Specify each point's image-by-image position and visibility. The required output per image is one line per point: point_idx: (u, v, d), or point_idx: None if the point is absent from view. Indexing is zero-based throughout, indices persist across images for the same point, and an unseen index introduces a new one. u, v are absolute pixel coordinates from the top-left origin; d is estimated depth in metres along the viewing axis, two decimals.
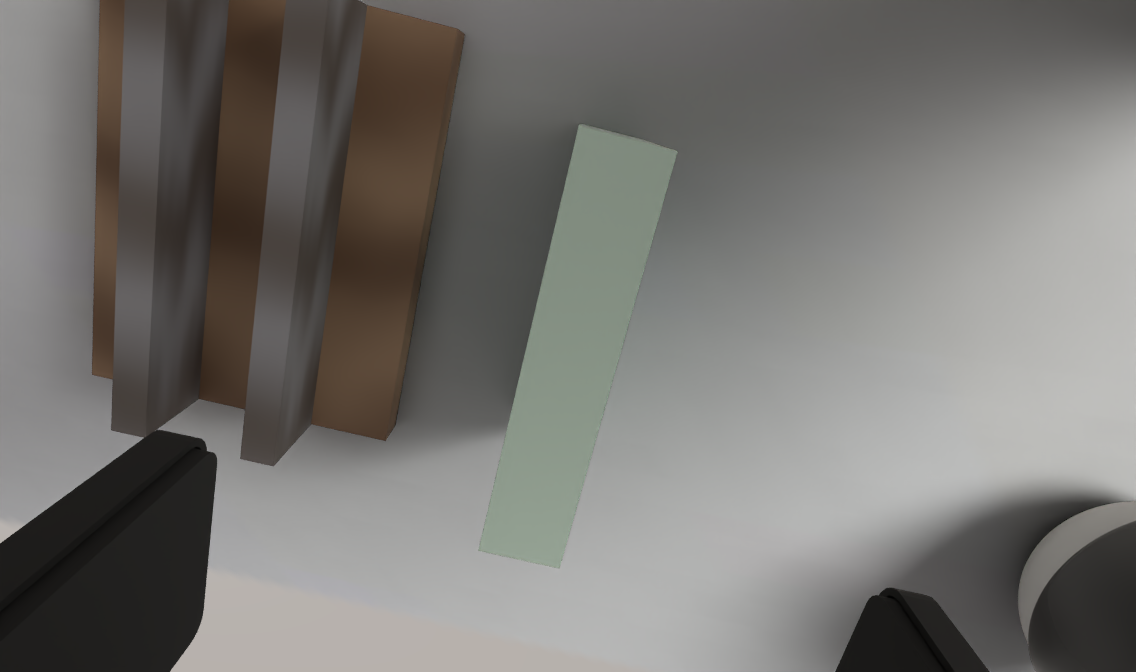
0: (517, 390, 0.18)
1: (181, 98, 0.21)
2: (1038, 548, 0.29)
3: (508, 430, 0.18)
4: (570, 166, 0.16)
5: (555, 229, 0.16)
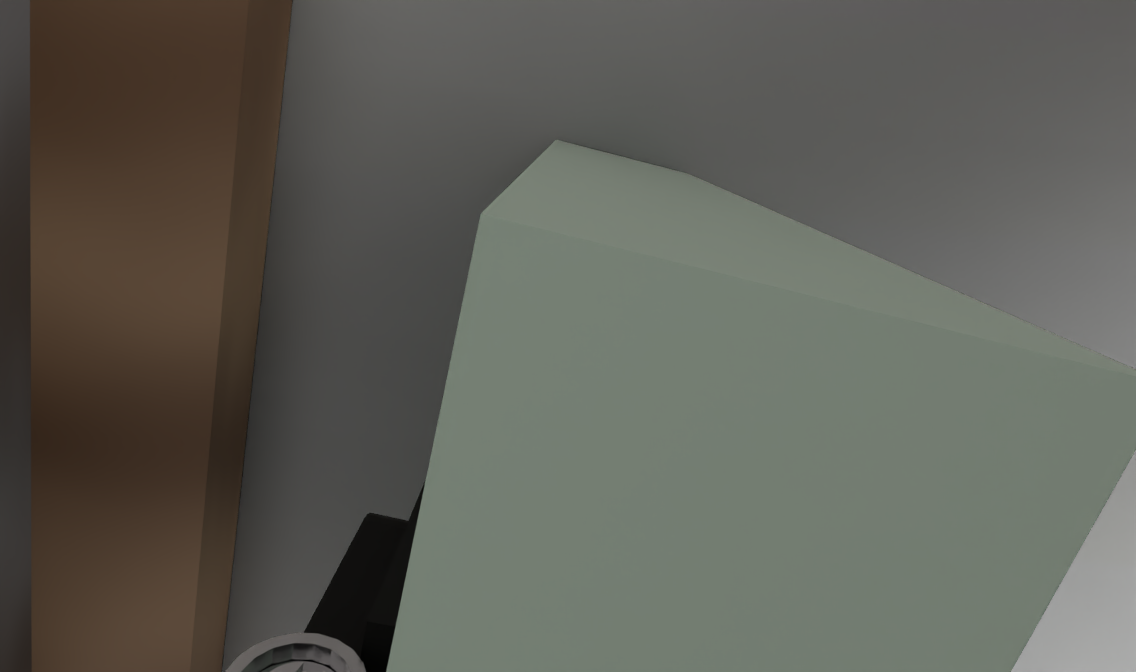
0: None
1: None
2: None
3: None
4: (438, 467, 0.02)
5: None
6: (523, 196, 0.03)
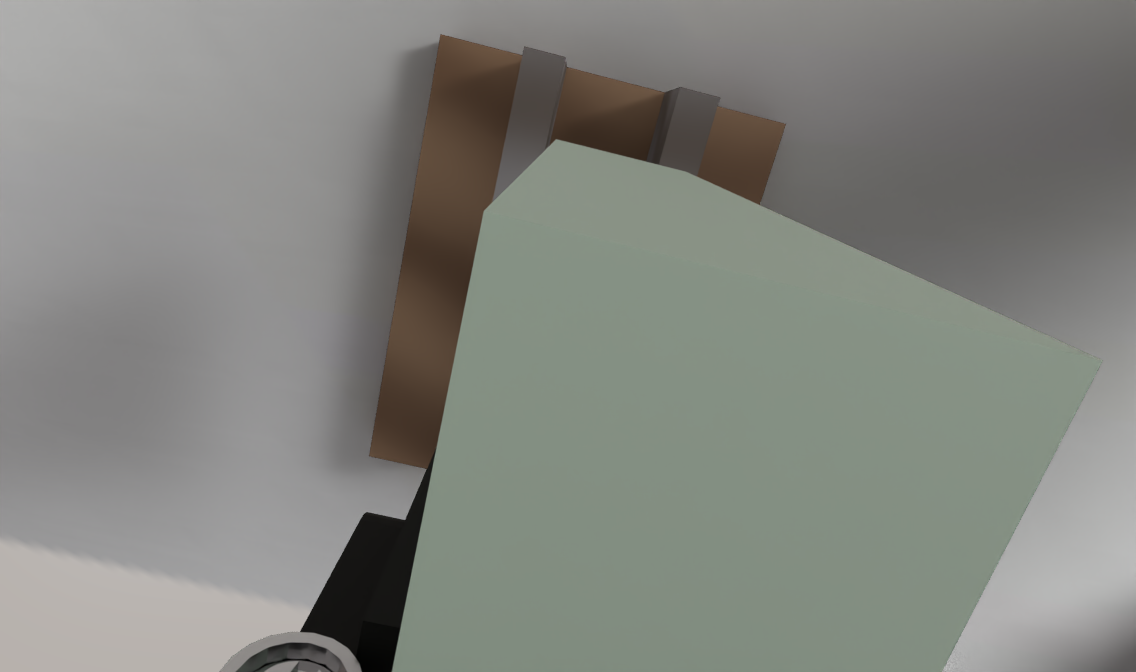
0: None
1: None
2: None
3: None
4: (447, 439, 0.03)
5: None
6: (522, 196, 0.03)
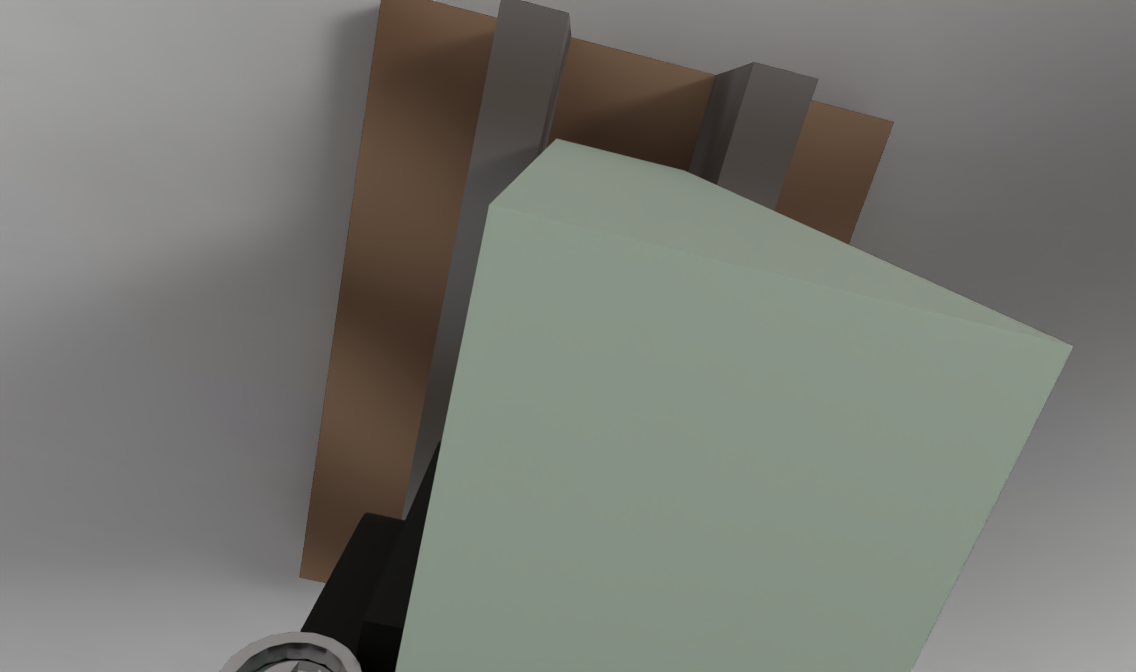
0: None
1: None
2: None
3: None
4: (453, 421, 0.03)
5: None
6: (525, 191, 0.03)
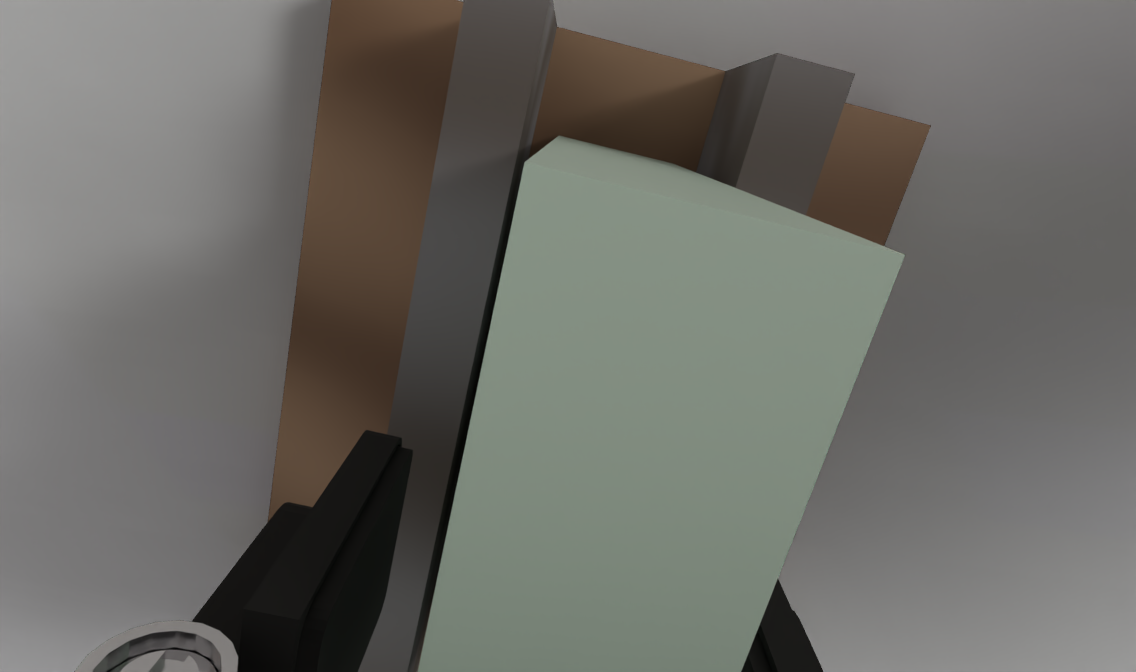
0: None
1: (498, 262, 0.12)
2: None
3: None
4: (498, 310, 0.04)
5: (453, 518, 0.05)
6: (543, 159, 0.05)
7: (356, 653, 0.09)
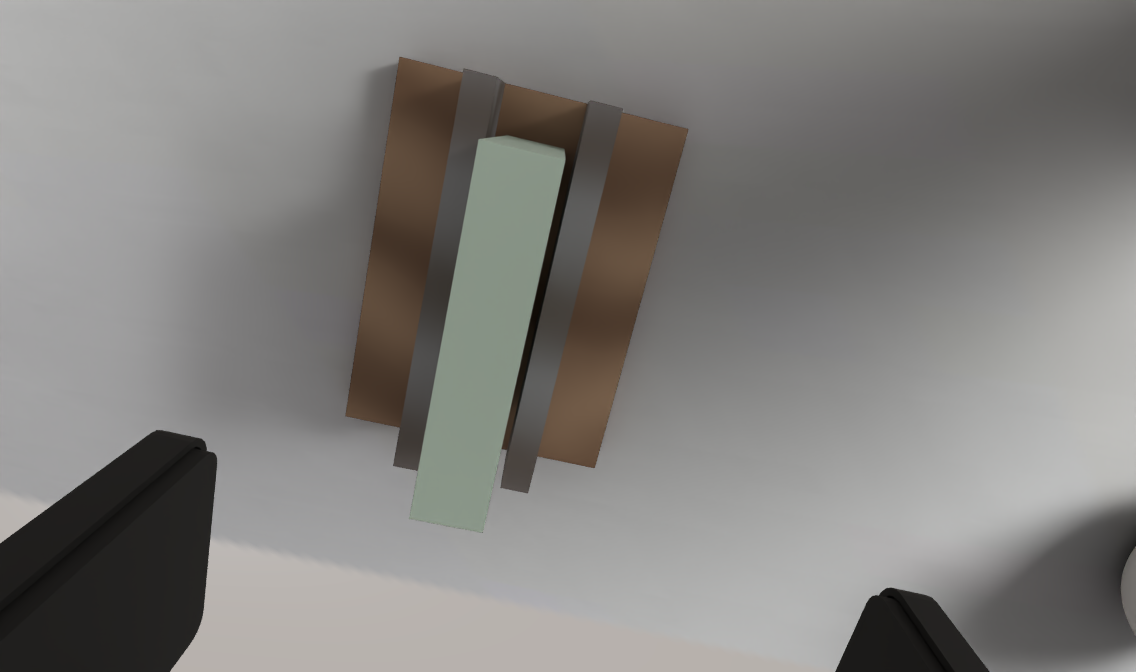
0: (437, 372, 0.20)
1: None
2: None
3: (430, 408, 0.20)
4: (473, 174, 0.18)
5: (463, 229, 0.19)
6: (484, 139, 0.19)
7: None
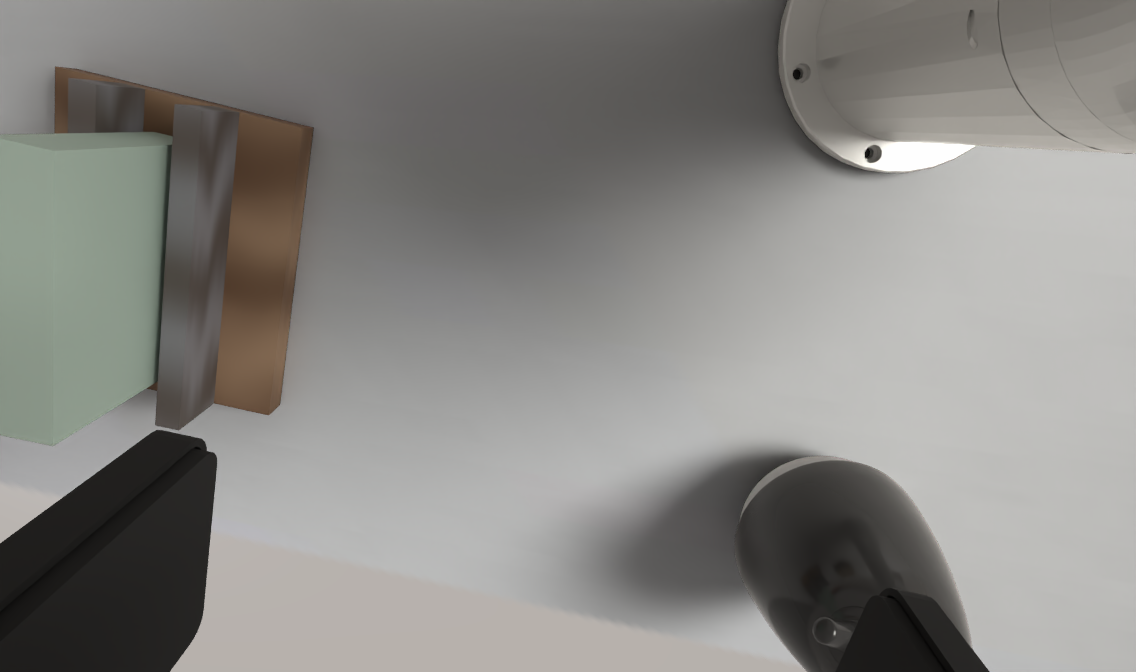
0: None
1: None
2: (751, 492, 0.39)
3: None
4: None
5: None
6: (3, 135, 0.24)
7: None
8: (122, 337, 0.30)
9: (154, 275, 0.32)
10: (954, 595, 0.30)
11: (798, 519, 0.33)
